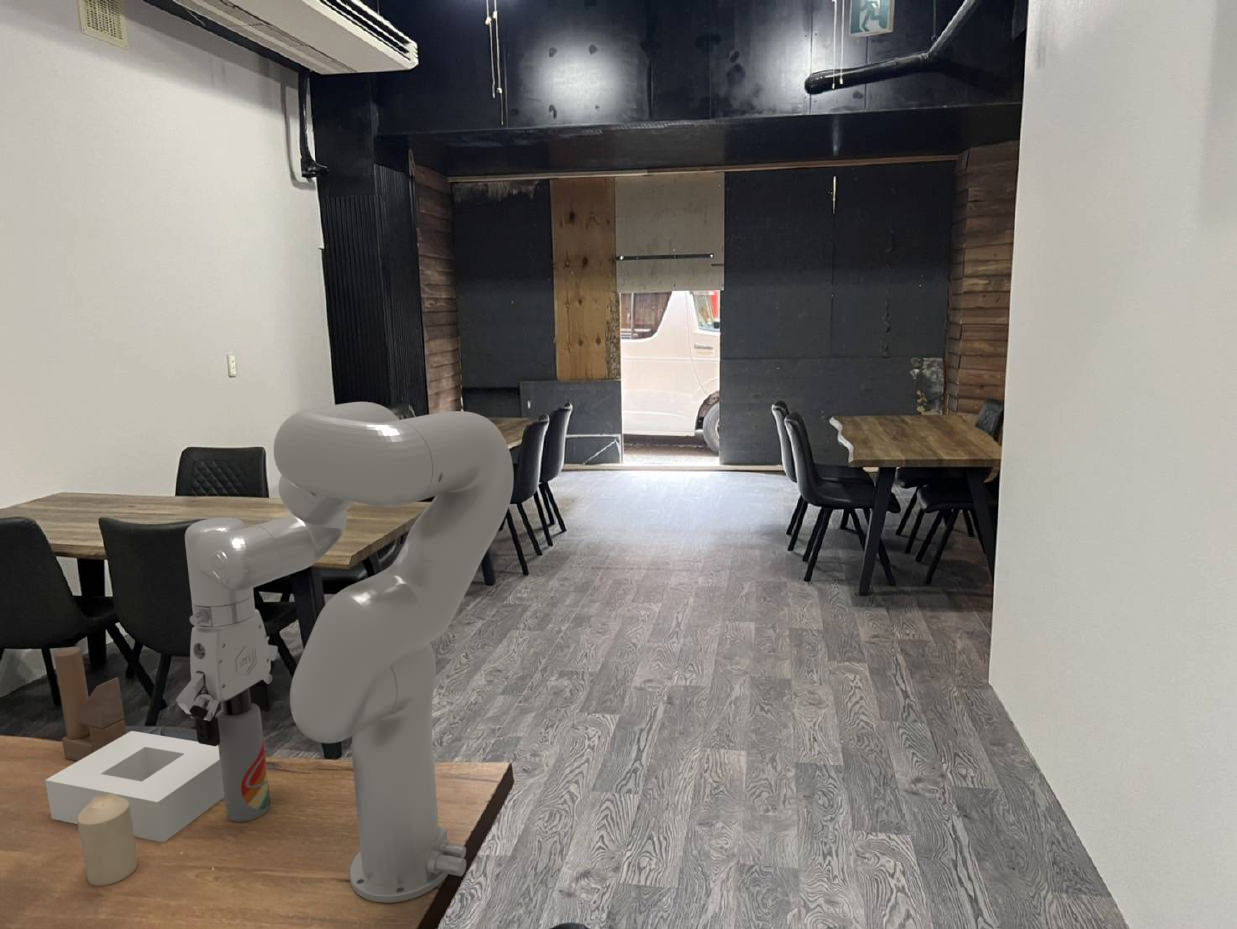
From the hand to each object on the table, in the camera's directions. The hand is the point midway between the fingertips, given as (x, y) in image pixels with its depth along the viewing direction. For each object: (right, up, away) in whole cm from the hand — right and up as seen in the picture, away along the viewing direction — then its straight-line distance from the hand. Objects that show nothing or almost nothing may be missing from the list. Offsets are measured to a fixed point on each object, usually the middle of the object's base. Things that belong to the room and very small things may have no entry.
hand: (236, 726), depth 113 cm
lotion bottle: (+1, -13, +2) cm, 13 cm away
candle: (-11, -15, -10) cm, 21 cm away
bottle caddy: (-15, -13, +5) cm, 20 cm away
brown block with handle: (-30, -11, +17) cm, 36 cm away
